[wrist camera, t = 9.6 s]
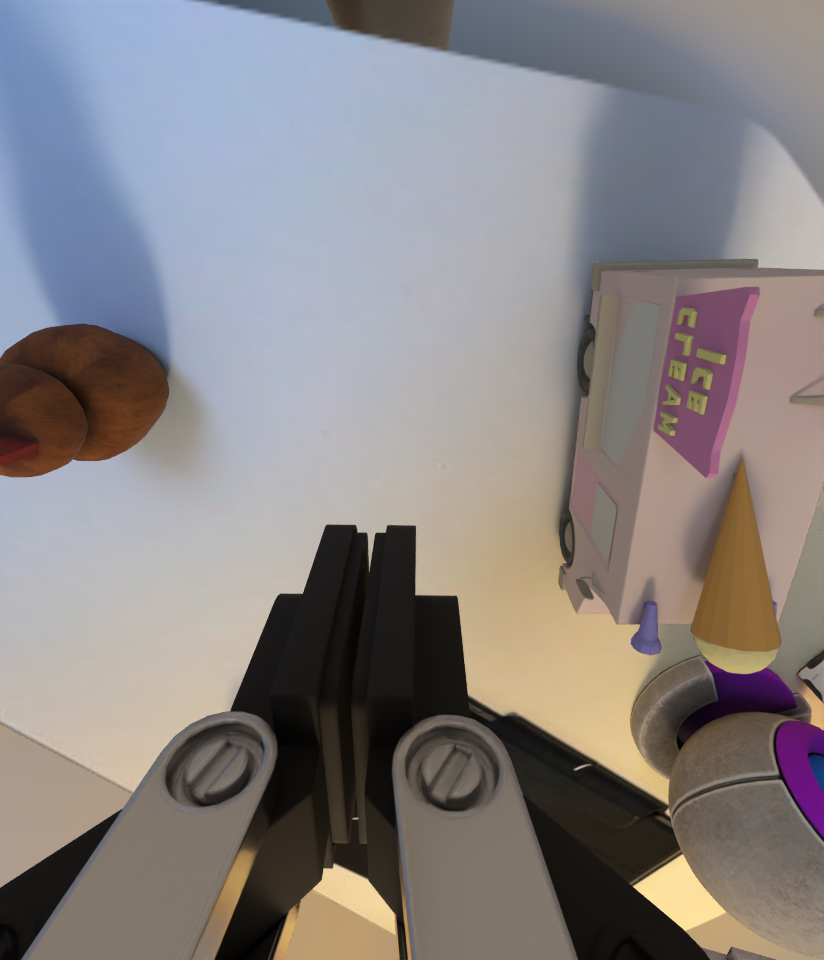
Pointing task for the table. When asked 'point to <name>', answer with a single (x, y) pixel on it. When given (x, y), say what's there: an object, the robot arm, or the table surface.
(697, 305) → the toy vehicle
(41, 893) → the robot arm
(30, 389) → the wooden figurine
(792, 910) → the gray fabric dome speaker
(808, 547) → the table surface
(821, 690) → the candy box
